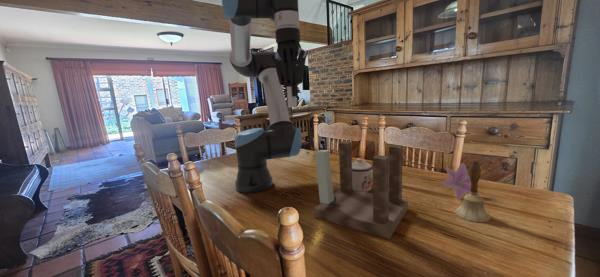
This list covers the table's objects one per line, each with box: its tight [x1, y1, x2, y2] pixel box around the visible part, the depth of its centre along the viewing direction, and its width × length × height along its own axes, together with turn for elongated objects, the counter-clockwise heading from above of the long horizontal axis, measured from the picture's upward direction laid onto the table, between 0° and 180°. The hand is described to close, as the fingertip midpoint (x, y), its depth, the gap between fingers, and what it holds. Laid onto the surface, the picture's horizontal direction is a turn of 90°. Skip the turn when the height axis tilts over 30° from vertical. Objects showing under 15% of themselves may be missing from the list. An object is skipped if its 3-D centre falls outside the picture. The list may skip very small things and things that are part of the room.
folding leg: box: [314, 149, 334, 204], centre depth 74 cm, size 3×3×15 cm
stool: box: [313, 140, 409, 240], centre depth 74 cm, size 22×18×20 cm
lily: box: [442, 162, 471, 201], centre depth 85 cm, size 12×12×10 cm
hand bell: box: [454, 159, 492, 223], centre depth 70 cm, size 8×8×16 cm
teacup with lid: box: [352, 157, 373, 193], centre depth 95 cm, size 12×9×12 cm
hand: (292, 106), depth 81 cm, fingers closed
